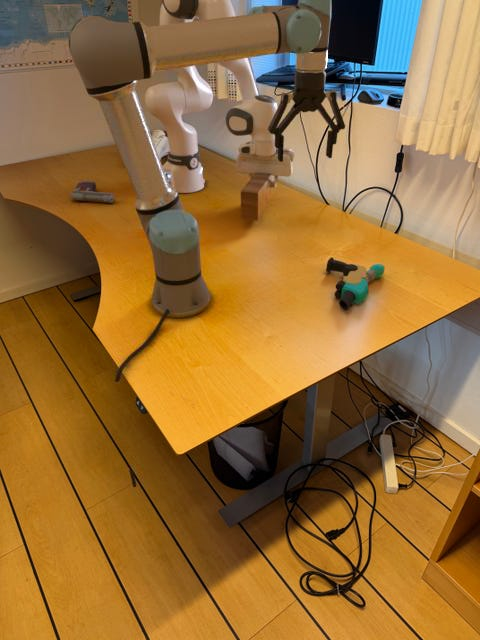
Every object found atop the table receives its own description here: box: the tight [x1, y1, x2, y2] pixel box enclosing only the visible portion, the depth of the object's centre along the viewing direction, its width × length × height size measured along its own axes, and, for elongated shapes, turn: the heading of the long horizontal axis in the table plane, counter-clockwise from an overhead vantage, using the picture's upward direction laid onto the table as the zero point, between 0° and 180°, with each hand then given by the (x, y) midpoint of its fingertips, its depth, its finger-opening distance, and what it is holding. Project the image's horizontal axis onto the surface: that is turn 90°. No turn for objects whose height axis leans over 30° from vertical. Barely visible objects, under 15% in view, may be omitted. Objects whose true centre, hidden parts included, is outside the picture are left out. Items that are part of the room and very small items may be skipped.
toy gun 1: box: [69, 180, 115, 204], centre depth 185 cm, size 4×19×15 cm
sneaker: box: [151, 129, 170, 161], centre depth 220 cm, size 10×29×12 cm, turn 163°
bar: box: [240, 173, 275, 222], centre depth 165 cm, size 25×6×10 cm, turn 164°
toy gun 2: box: [325, 257, 386, 312], centre depth 129 cm, size 4×26×15 cm
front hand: (304, 158), depth 128 cm, fingers open, 13 cm apart
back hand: (263, 186), depth 172 cm, fingers closed on bar, 6 cm apart
